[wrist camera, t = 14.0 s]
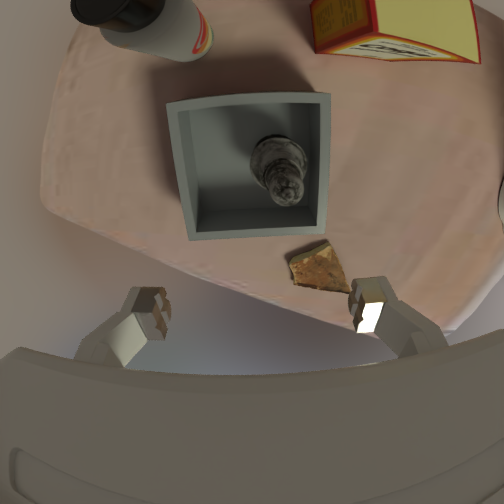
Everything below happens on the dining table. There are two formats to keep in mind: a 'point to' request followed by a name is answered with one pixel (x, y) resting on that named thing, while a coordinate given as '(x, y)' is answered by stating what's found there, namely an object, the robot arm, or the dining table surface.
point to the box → (248, 162)
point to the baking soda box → (397, 29)
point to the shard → (319, 270)
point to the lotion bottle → (149, 26)
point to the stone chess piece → (279, 168)
